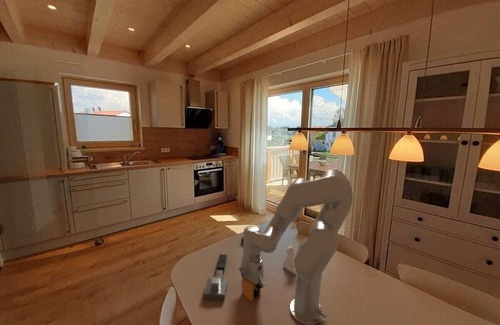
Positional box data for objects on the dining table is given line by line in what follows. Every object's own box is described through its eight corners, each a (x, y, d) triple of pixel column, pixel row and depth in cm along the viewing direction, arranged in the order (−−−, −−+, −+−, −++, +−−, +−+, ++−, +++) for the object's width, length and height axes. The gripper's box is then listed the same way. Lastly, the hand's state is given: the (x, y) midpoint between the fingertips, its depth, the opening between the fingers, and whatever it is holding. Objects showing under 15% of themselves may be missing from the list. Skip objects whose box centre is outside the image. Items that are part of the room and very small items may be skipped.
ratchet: (224, 300, 91) (224, 288, 90) (203, 299, 91) (203, 287, 90) (231, 258, 119) (231, 249, 118) (215, 258, 120) (215, 248, 118)
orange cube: (260, 293, 95) (261, 279, 94) (251, 301, 91) (251, 286, 90) (251, 286, 99) (251, 272, 98) (241, 293, 95) (241, 279, 94)
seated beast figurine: (297, 276, 107) (298, 254, 105) (280, 271, 110) (281, 250, 108) (300, 265, 116) (301, 245, 114) (284, 260, 119) (286, 241, 117)
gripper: (272, 260, 88) (271, 298, 91) (244, 243, 100) (244, 277, 104) (260, 268, 83) (259, 308, 86) (232, 249, 95) (232, 285, 98)
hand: (251, 291), depth 95 cm, fingers closed on orange cube, 6 cm apart
